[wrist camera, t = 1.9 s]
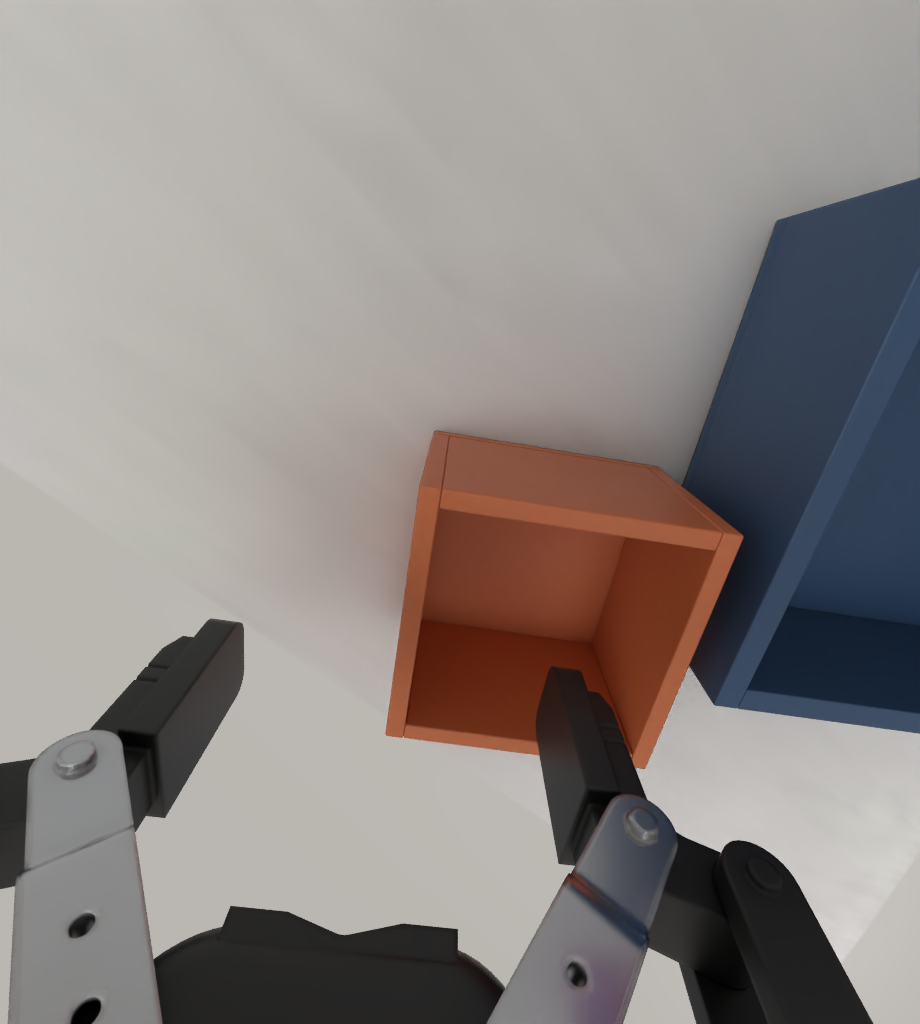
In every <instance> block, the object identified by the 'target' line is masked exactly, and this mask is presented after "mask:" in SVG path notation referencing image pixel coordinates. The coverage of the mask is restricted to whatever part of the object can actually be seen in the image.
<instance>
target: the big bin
mask: <svg viewBox="0 0 920 1024" xmlns="http://www.w3.org/2000/svg"><path fill="white" fill-rule="evenodd" d="M683 488H685V489H686V490H687V491H688V492H690V493H691V494H692V495H693V496H695V497H696V498H697V499H698V500H700V501H701V502H702V503H703V504H705V505H706V506H707V507H708V508H710V509H711V510H712V511H713V512H715V513H716V514H717V515H718V516H720V517H721V518H722V519H723V520H724V521H726V522H727V523H728V524H729V525H731V526H732V527H733V528H734V529H736V530H737V531H738V532H739V533H741V534H742V535H743V540H742V542H741V545H740V547H739V549H738V552H737V554H736V556H735V559H734V561H733V563H732V566H731V568H730V570H729V573H728V575H727V578H726V580H725V582H724V585H723V587H722V589H721V592H720V594H719V596H718V599H717V601H716V603H715V606H714V608H713V610H712V613H711V615H710V617H709V620H708V622H707V624H706V627H705V629H704V632H703V634H702V636H701V639H700V641H699V643H698V646H697V648H696V650H695V653H694V655H693V657H692V660H691V662H690V664H689V666H690V668H691V669H692V671H693V673H694V674H695V676H696V677H697V679H698V680H699V682H700V684H701V685H702V687H703V688H704V690H705V692H706V693H707V695H708V696H709V698H710V699H711V701H712V703H713V704H714V705H716V706H723V707H731V708H739V709H745V710H752V711H760V712H767V713H774V714H781V715H789V716H796V717H803V718H811V719H818V720H825V721H832V722H840V723H847V724H854V725H862V726H869V727H876V728H883V729H891V730H898V731H905V732H913V733H920V178H918V179H915V180H911V181H908V182H905V183H901V184H898V185H894V186H891V187H888V188H884V189H881V190H878V191H874V192H871V193H868V194H864V195H861V196H858V197H854V198H851V199H847V200H844V201H841V202H837V203H834V204H831V205H827V206H824V207H821V208H817V209H814V210H810V211H807V212H804V213H800V214H797V215H794V216H790V217H787V218H784V219H780V220H778V221H777V223H776V226H775V229H774V231H773V234H772V237H771V240H770V243H769V246H768V248H767V251H766V254H765V257H764V260H763V262H762V265H761V268H760V271H759V274H758V276H757V279H756V282H755V285H754V288H753V290H752V293H751V296H750V299H749V302H748V304H747V307H746V310H745V313H744V316H743V318H742V321H741V324H740V327H739V330H738V332H737V335H736V338H735V341H734V344H733V346H732V349H731V352H730V355H729V358H728V360H727V363H726V366H725V369H724V372H723V374H722V377H721V380H720V383H719V386H718V388H717V391H716V394H715V397H714V400H713V402H712V405H711V408H710V411H709V414H708V417H707V419H706V422H705V425H704V428H703V431H702V433H701V436H700V439H699V442H698V445H697V447H696V450H695V453H694V456H693V459H692V461H691V464H690V467H689V470H688V473H687V475H686V478H685V481H684V484H683Z"/></svg>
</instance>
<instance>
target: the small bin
mask: <svg viewBox="0 0 920 1024" xmlns="http://www.w3.org/2000/svg"><path fill="white" fill-rule="evenodd" d="M742 540H743V535H742V534H741V533H739V532H738V531H737V530H736V529H734V528H733V527H732V526H731V525H729V524H728V523H727V522H726V521H724V520H723V519H722V518H721V517H720V516H718V515H717V514H716V513H715V512H713V511H712V510H711V509H710V508H708V507H707V506H706V505H705V504H703V503H702V502H701V501H700V500H698V499H697V498H696V497H695V496H693V495H692V494H691V493H690V492H688V491H687V490H686V489H685V488H683V487H682V486H681V485H680V484H678V483H677V482H676V481H675V480H673V479H672V478H671V477H670V476H668V475H667V474H666V473H665V472H663V471H662V470H661V469H660V468H659V467H656V466H650V465H644V464H638V463H632V462H626V461H619V460H613V459H607V458H601V457H595V456H589V455H582V454H576V453H570V452H564V451H558V450H551V449H545V448H539V447H533V446H527V445H521V444H514V443H508V442H502V441H496V440H490V439H484V438H477V437H471V436H465V435H459V434H453V433H446V432H440V431H434V434H433V438H432V441H431V445H430V449H429V453H428V456H427V460H426V464H425V467H424V471H423V475H422V478H421V482H420V486H419V493H418V500H417V507H416V515H415V522H414V529H413V537H412V544H411V551H410V558H409V566H408V573H407V580H406V588H405V595H404V602H403V610H402V617H401V624H400V631H399V639H398V646H397V653H396V661H395V668H394V675H393V683H392V690H391V697H390V704H389V712H388V719H387V726H386V736H392V737H401V738H402V737H403V735H404V738H410V739H418V740H425V741H433V742H441V743H449V744H456V745H464V746H472V747H480V748H487V749H495V750H503V751H510V752H518V753H526V754H534V755H539V749H538V744H537V738H536V714H537V709H538V705H539V702H540V698H541V695H542V692H543V688H544V685H545V681H546V678H547V674H548V671H549V669H550V667H551V666H557V667H564V668H572V669H579V670H580V671H581V672H582V674H583V677H584V680H585V683H586V686H587V689H588V691H591V692H599V693H600V694H601V696H602V697H603V698H604V699H605V700H606V702H607V703H608V704H609V705H610V706H611V708H612V709H613V712H614V714H615V717H616V719H617V722H618V725H619V729H620V730H621V733H622V735H623V738H624V744H626V746H627V748H628V751H629V754H630V756H631V759H632V761H633V764H634V767H635V768H641V769H645V768H646V765H647V763H648V761H649V758H650V756H651V754H652V751H653V749H654V747H655V744H656V742H657V740H658V737H659V735H660V733H661V730H662V728H663V725H664V723H665V721H666V718H667V716H668V714H669V711H670V709H671V707H672V704H673V702H674V700H675V697H676V695H677V693H678V690H679V688H680V686H681V683H682V681H683V679H684V676H685V674H686V671H687V669H688V667H689V664H690V662H691V660H692V657H693V655H694V653H695V650H696V648H697V646H698V643H699V641H700V639H701V636H702V634H703V632H704V629H705V627H706V624H707V622H708V620H709V617H710V615H711V613H712V610H713V608H714V606H715V603H716V601H717V599H718V596H719V594H720V592H721V589H722V587H723V585H724V582H725V580H726V578H727V575H728V573H729V570H730V568H731V566H732V563H733V561H734V559H735V556H736V554H737V552H738V549H739V547H740V545H741V542H742Z"/></svg>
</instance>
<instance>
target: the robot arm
mask: <svg viewBox="0 0 920 1024" xmlns="http://www.w3.org/2000/svg"><path fill="white" fill-rule="evenodd" d="M243 675H244V628H243V624H242V623H240V622H232V621H225V620H218V619H210V620H208V621H207V622H206V623H205V624H204V626H203V627H202V628H201V629H200V630H199V632H198V633H197V634H196V635H195V637H186V636H183V637H181V638H179V639H178V640H176V641H174V642H172V643H171V644H169V645H167V646H166V647H164V648H162V650H161V651H160V652H159V653H158V654H157V655H156V656H155V657H154V658H153V660H152V661H151V662H150V663H149V665H148V667H145V668H144V670H143V671H142V672H141V673H140V674H139V675H138V677H137V679H136V680H134V681H133V682H132V683H131V684H130V685H129V686H128V687H127V689H126V690H125V691H124V692H123V693H122V694H121V695H120V696H119V698H118V699H117V700H116V701H115V702H114V703H113V704H112V705H111V706H110V708H109V709H108V710H107V711H106V712H105V713H104V714H103V716H101V718H100V719H99V720H98V721H97V722H96V723H95V724H94V725H93V727H92V728H91V729H90V730H89V731H83V732H79V733H76V734H72V735H70V736H67V737H65V738H63V739H61V740H59V741H57V742H55V743H54V744H52V745H51V746H49V747H48V748H46V749H45V750H44V751H43V752H42V753H41V754H40V755H39V756H38V757H37V758H36V759H30V760H23V761H16V762H9V763H2V764H0V889H3V888H8V887H12V886H15V899H14V919H13V936H12V955H11V974H10V992H9V1011H8V1024H623V1022H624V1019H625V1016H626V1013H627V1009H628V1007H629V1003H630V1001H631V998H632V995H633V992H634V989H635V986H636V983H637V980H638V976H639V973H640V970H641V967H642V964H643V961H644V958H645V955H646V952H647V949H648V948H651V949H652V950H655V951H657V952H659V953H661V954H663V955H665V956H667V957H669V958H671V959H673V960H675V961H677V962H679V965H680V968H681V972H682V975H683V979H684V982H685V985H686V989H687V993H688V996H689V1000H690V1003H691V1006H692V1009H693V1013H694V1017H695V1020H696V1024H873V1022H872V1021H871V1019H870V1017H869V1015H868V1013H867V1011H866V1009H865V1008H864V1006H863V1004H862V1002H861V1000H860V998H859V996H858V995H857V993H856V991H855V989H854V987H853V985H852V983H851V982H850V980H849V978H848V976H847V975H846V972H845V971H844V969H843V967H842V965H841V963H840V961H839V959H838V957H837V956H836V954H835V952H834V950H833V948H832V946H831V945H830V943H829V941H828V939H827V937H826V935H825V933H824V932H823V930H822V928H821V926H820V924H819V922H818V920H817V919H816V917H815V915H814V913H813V911H812V909H811V907H810V906H809V904H808V902H807V900H806V898H805V896H804V894H803V893H802V891H801V889H800V887H799V885H798V883H797V882H796V880H795V879H794V877H793V876H792V874H791V873H790V872H789V870H788V869H787V868H786V867H785V866H784V865H783V864H782V863H781V862H780V861H779V860H778V859H777V858H776V857H774V856H773V855H772V854H771V853H769V852H768V851H766V850H765V849H763V848H761V847H759V846H757V845H755V844H753V843H750V842H746V841H740V840H737V841H732V842H729V843H728V844H727V845H726V846H725V847H724V849H723V850H722V852H721V853H720V852H718V851H715V850H713V849H711V848H708V847H706V846H704V845H701V844H699V843H697V842H694V841H692V840H690V839H687V838H685V837H683V836H681V835H680V834H678V833H676V831H675V829H674V827H673V825H672V823H671V822H670V820H669V819H668V817H667V816H666V815H665V814H664V813H663V811H661V810H660V809H659V808H658V807H657V806H656V805H654V804H653V803H652V802H650V801H648V800H647V798H646V795H645V793H644V790H643V788H642V785H641V782H640V780H639V777H638V775H637V772H636V769H635V767H634V764H633V761H632V759H631V756H630V754H629V751H628V748H627V746H626V744H624V738H623V735H622V733H621V730H620V729H619V725H618V722H617V719H616V717H615V714H614V712H613V709H612V708H611V706H610V705H609V704H608V703H607V702H606V700H605V699H604V698H603V697H602V696H601V694H600V693H599V692H591V691H588V689H587V686H586V683H585V680H584V677H583V674H582V672H581V671H580V670H579V669H572V668H564V667H557V666H551V667H550V669H549V671H548V674H547V678H546V681H545V685H544V688H543V692H542V695H541V698H540V702H539V705H538V709H537V714H536V738H537V744H538V749H539V755H540V761H541V766H542V772H543V778H544V783H545V789H546V795H547V800H548V806H549V812H550V818H551V823H552V829H553V834H554V840H555V845H556V851H557V857H558V863H559V864H565V865H574V866H575V867H574V869H573V871H572V873H571V874H570V873H569V874H568V875H567V877H566V878H565V880H564V882H563V884H562V886H561V887H560V889H559V891H558V893H557V895H556V897H555V898H554V900H553V902H552V904H551V906H550V908H549V909H548V911H547V913H546V915H545V917H544V919H543V920H542V923H541V924H540V926H539V928H538V930H537V931H536V933H535V935H534V937H533V939H532V941H531V943H530V944H529V946H528V948H527V950H526V952H525V953H524V955H523V957H522V959H521V961H520V963H519V964H518V967H517V969H516V970H515V972H514V974H513V975H512V977H511V979H510V981H509V983H508V985H507V987H506V988H505V987H504V985H503V984H502V983H501V982H500V981H499V980H498V979H497V978H496V977H495V976H494V975H493V974H492V972H490V971H489V970H488V969H487V968H486V967H484V966H483V965H482V964H481V963H480V962H478V961H477V960H475V959H474V958H472V957H470V956H469V955H467V954H465V953H463V952H461V951H459V950H458V930H457V929H450V928H440V927H431V926H421V925H411V924H399V925H395V926H390V927H384V928H380V929H375V930H370V931H365V932H360V933H355V934H350V935H339V934H336V933H334V932H332V931H329V930H327V929H325V928H323V927H320V926H318V925H316V924H314V923H312V922H309V921H307V920H305V919H303V918H300V917H298V916H296V915H294V914H291V913H289V912H284V911H273V910H265V909H255V908H245V907H235V906H231V907H230V909H229V912H228V914H227V917H226V919H225V922H224V925H223V927H220V928H216V929H212V930H209V931H206V932H203V933H200V934H197V935H195V936H193V937H190V938H188V939H186V940H184V941H182V942H180V943H179V944H177V945H175V946H173V947H171V948H170V949H168V950H166V951H165V952H163V953H162V954H161V955H159V956H158V957H156V958H155V959H153V954H152V946H151V939H150V932H149V925H148V919H147V912H146V905H145V898H144V891H143V884H142V877H141V870H140V864H139V857H138V850H137V842H136V835H135V832H136V830H137V829H138V827H139V825H140V824H141V822H142V821H143V819H144V818H145V816H152V817H161V818H165V817H166V815H167V813H168V812H169V810H170V809H171V807H172V805H173V803H174V802H175V800H176V798H177V797H178V795H179V793H180V792H181V790H182V788H183V786H184V785H185V783H186V781H187V780H188V778H189V776H190V775H191V773H192V771H193V769H194V768H195V766H196V764H197V763H198V761H199V759H200V758H201V756H202V754H203V753H204V751H205V749H206V747H207V746H208V744H209V742H210V740H211V739H212V737H213V736H214V734H215V732H216V730H217V729H218V727H219V725H220V724H221V722H222V720H223V719H224V717H225V715H226V713H227V712H228V710H229V708H230V707H231V705H232V703H233V702H234V700H235V698H236V696H237V695H238V692H239V690H240V687H241V684H242V680H243Z"/></svg>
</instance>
